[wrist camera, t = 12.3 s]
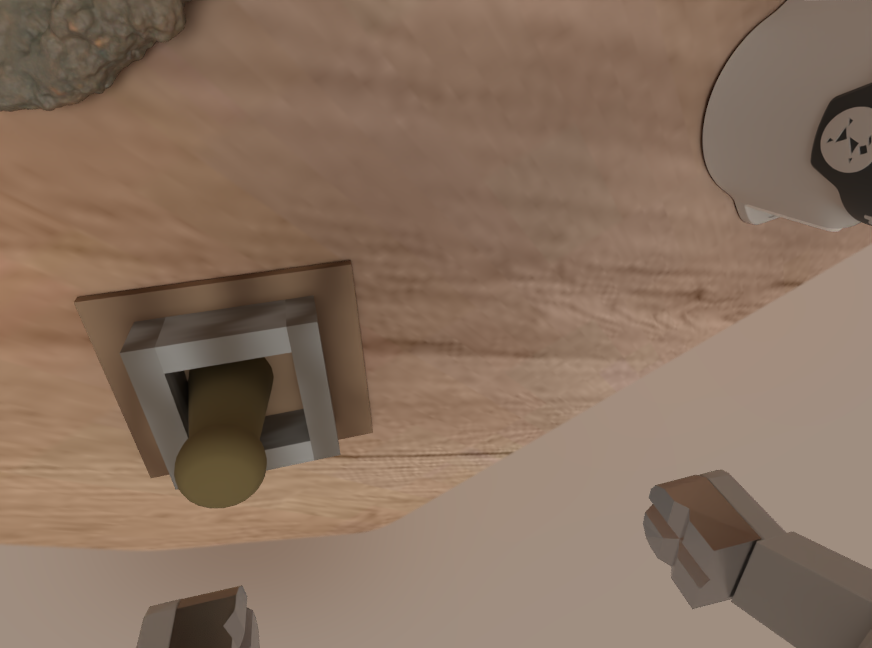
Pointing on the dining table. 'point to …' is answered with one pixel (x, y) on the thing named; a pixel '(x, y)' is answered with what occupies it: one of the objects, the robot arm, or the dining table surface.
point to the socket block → (237, 357)
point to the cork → (225, 433)
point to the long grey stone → (75, 46)
